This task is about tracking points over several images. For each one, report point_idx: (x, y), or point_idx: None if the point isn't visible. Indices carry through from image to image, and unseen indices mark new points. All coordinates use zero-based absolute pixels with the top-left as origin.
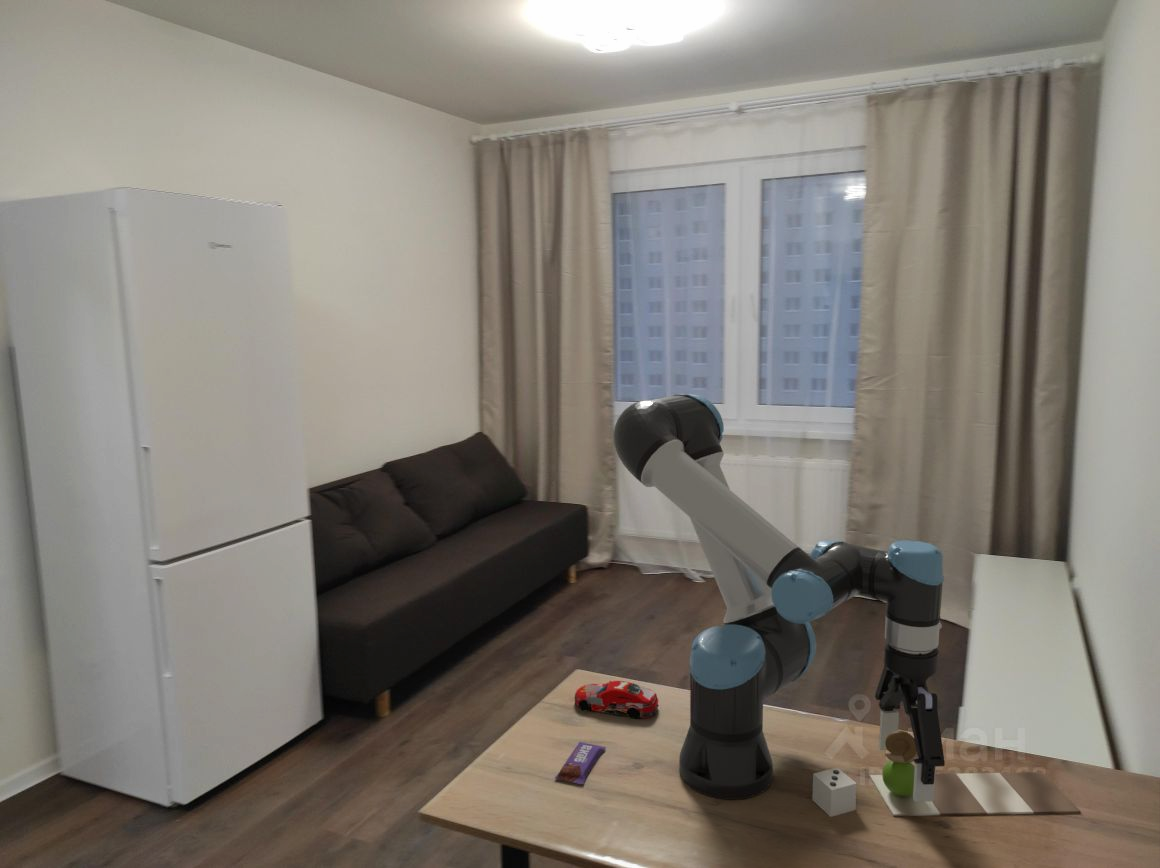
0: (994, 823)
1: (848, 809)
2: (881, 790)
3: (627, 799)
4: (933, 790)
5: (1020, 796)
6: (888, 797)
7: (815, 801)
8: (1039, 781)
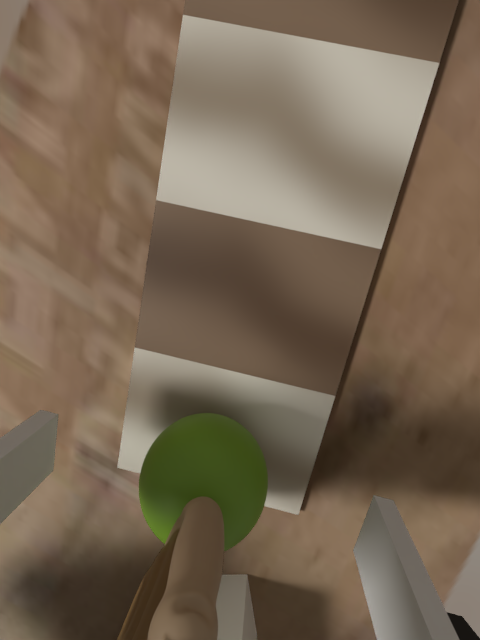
0: (426, 256)
1: (250, 600)
2: None
3: None
4: (410, 542)
5: (340, 42)
6: None
7: None
8: None
